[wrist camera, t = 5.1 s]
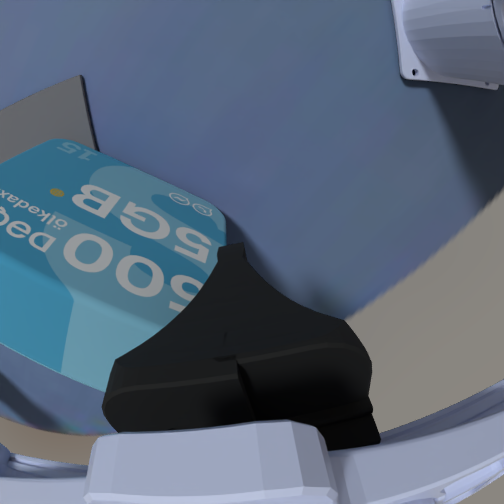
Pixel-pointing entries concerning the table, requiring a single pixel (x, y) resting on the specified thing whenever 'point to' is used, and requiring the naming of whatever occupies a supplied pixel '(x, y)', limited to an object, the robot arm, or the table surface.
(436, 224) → the table surface
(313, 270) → the table surface
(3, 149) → the mat
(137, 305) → the data package
